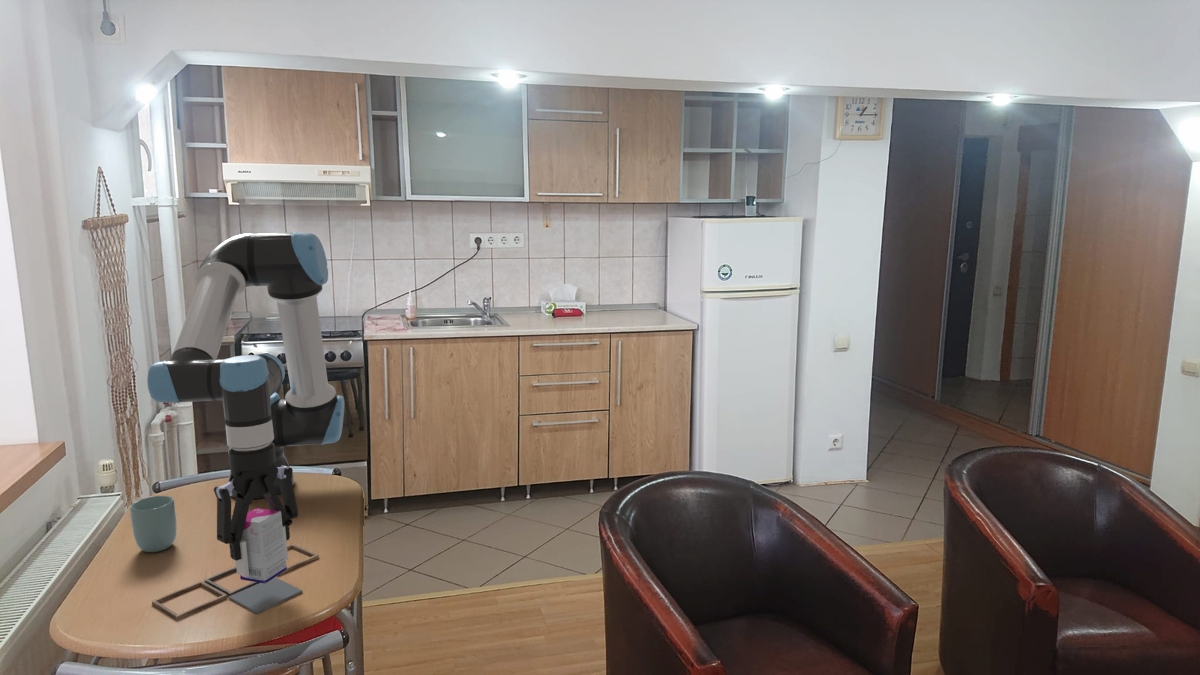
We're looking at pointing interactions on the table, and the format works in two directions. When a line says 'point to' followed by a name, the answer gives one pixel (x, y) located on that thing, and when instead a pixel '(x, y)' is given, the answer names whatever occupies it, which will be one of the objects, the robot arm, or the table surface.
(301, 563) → the frame
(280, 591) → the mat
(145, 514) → the cup
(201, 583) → the frame
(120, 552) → the table surface
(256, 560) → the supplement box
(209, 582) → the frame
